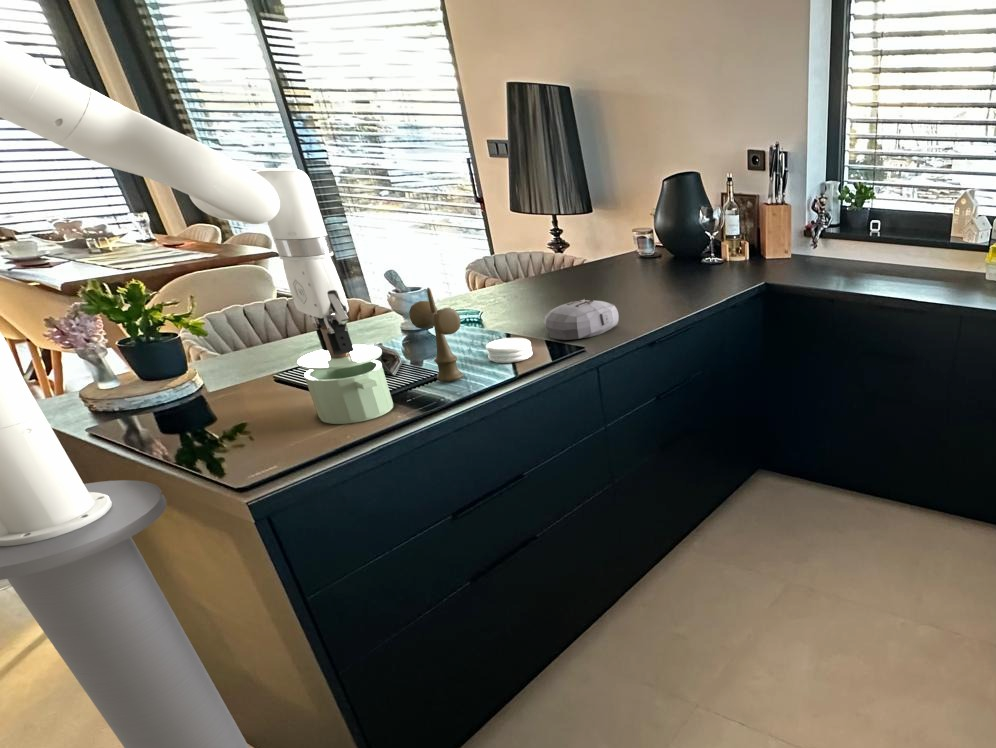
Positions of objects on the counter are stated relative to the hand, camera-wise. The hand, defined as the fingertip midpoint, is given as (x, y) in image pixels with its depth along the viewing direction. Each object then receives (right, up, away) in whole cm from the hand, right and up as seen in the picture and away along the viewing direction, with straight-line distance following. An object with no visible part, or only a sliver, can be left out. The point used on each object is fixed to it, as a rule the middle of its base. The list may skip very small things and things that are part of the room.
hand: (338, 350), depth 115 cm
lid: (0, -1, +1) cm, 2 cm away
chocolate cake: (-10, -1, +26) cm, 27 cm away
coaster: (+15, +4, +36) cm, 39 cm away
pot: (0, -11, +5) cm, 12 cm away
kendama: (+9, -3, +22) cm, 24 cm away
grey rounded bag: (+25, +14, +56) cm, 63 cm away
